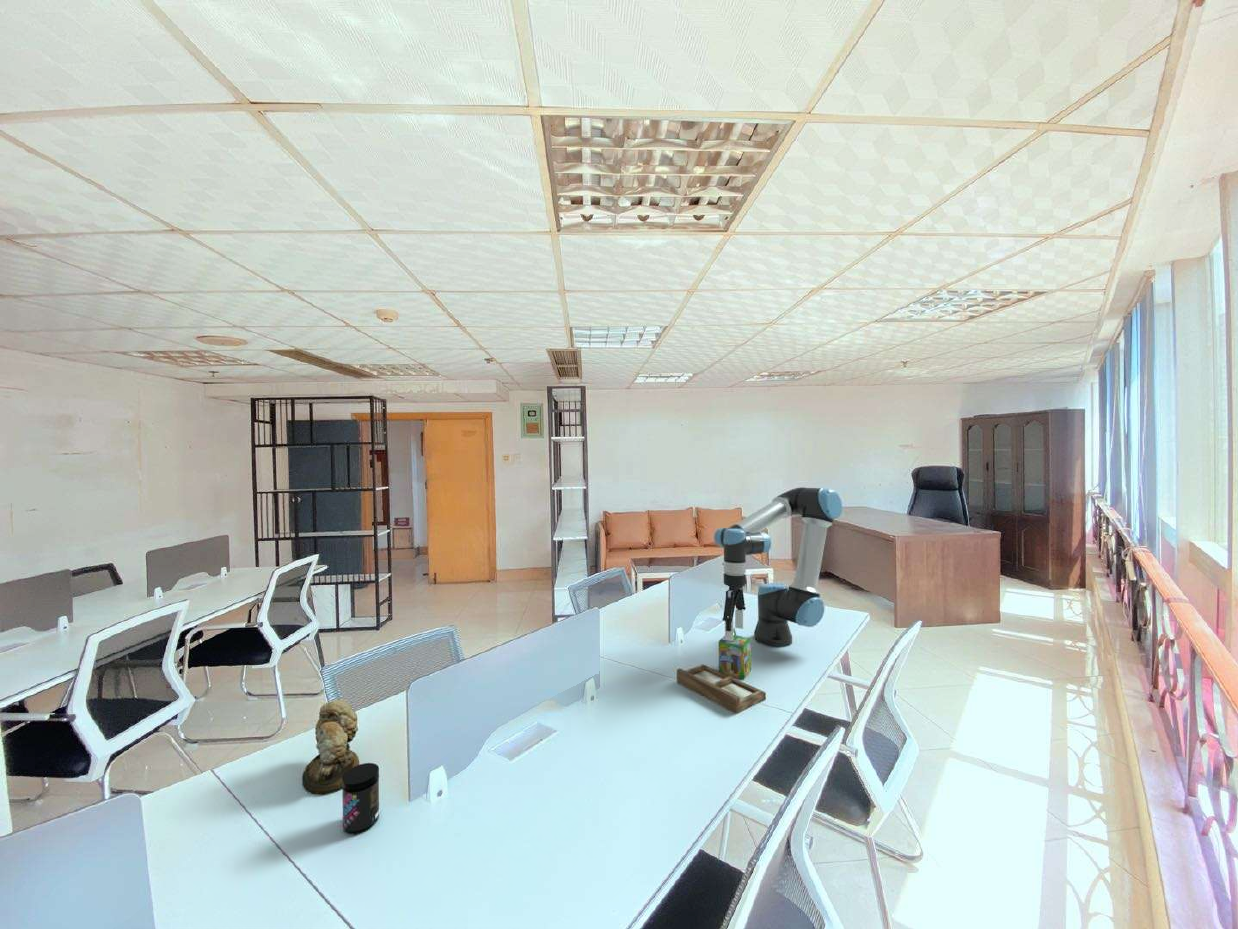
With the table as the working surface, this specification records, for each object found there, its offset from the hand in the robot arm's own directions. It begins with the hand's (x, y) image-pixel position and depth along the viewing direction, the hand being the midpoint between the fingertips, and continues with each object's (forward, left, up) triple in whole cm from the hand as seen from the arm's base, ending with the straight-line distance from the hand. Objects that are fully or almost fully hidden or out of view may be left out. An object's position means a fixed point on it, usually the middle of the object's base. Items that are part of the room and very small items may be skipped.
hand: (734, 634), depth 168 cm
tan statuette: (+120, -24, -14) cm, 123 cm away
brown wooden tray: (+15, +6, -13) cm, 21 cm away
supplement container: (+117, -1, -14) cm, 117 cm away
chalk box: (0, 0, -14) cm, 14 cm away
